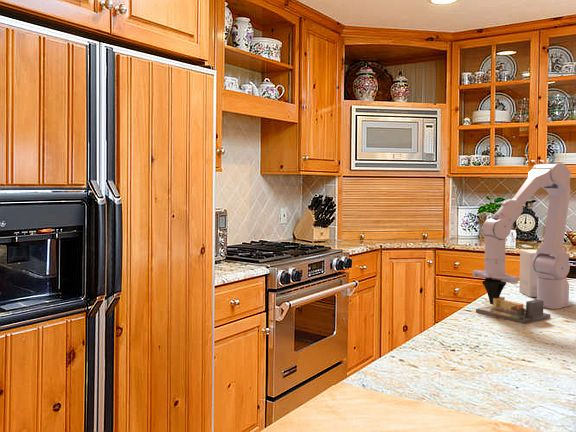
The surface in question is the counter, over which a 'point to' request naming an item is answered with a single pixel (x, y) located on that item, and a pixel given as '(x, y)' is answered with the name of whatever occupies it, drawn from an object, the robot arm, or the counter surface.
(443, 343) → the counter surface
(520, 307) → the orange and grey block
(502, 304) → the wooden u-shaped cradle
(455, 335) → the counter surface
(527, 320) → the gauge base
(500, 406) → the counter surface
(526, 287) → the supplement box
